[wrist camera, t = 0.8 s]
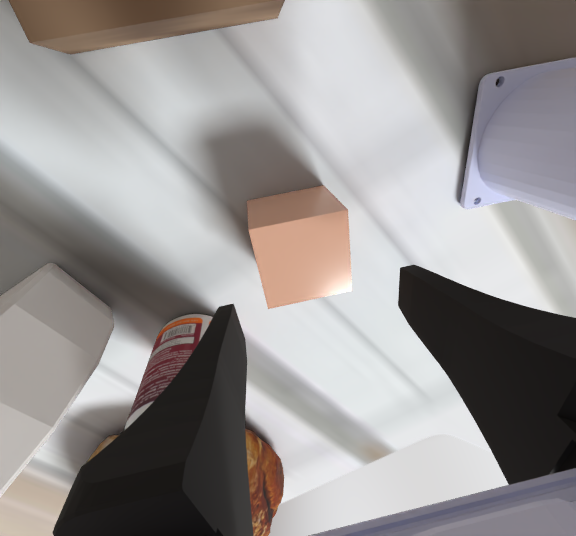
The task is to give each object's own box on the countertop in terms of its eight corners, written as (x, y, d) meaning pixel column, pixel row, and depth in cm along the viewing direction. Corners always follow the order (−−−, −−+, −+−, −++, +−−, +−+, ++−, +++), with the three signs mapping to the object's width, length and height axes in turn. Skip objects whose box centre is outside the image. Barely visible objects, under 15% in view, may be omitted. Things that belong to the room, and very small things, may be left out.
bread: (116, 512, 35) (75, 643, 27) (61, 424, 26) (-26, 580, 18) (280, 487, 38) (291, 599, 29) (282, 400, 29) (300, 525, 20)
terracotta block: (323, 184, 18) (347, 209, 14) (329, 252, 21) (352, 290, 17) (246, 200, 18) (248, 229, 14) (262, 266, 21) (268, 308, 16)
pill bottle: (149, 358, 23) (84, 538, 14) (169, 301, 21) (107, 471, 11) (222, 373, 25) (210, 539, 16) (247, 322, 23) (252, 481, 13)
